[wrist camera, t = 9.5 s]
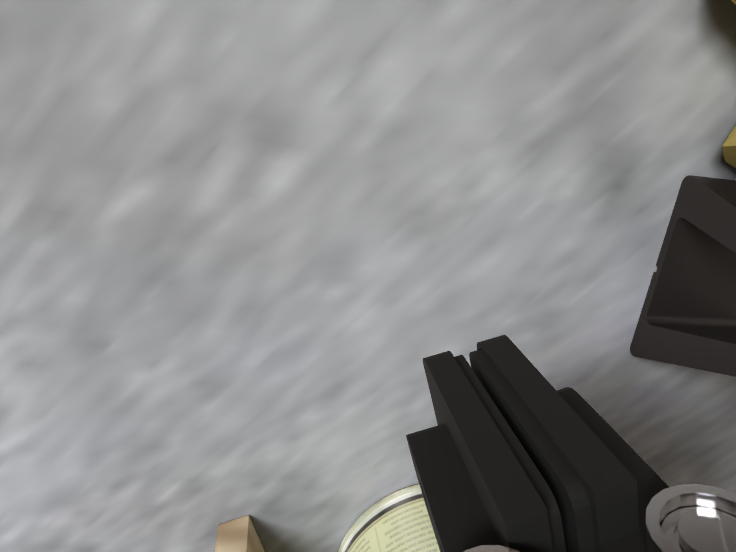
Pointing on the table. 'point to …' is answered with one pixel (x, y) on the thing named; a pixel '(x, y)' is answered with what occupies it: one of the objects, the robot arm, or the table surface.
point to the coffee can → (393, 526)
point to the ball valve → (730, 143)
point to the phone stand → (694, 283)
